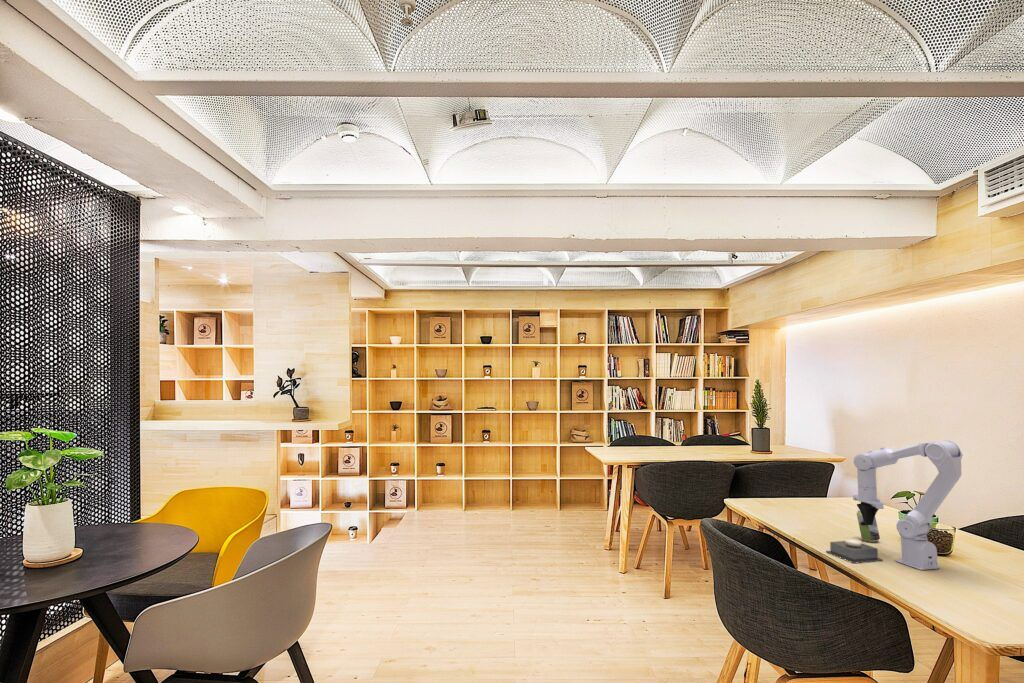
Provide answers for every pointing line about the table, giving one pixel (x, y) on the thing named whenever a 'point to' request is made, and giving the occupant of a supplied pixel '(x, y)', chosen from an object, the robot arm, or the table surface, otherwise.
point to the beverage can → (868, 529)
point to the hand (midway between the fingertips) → (868, 524)
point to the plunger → (853, 542)
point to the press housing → (854, 552)
